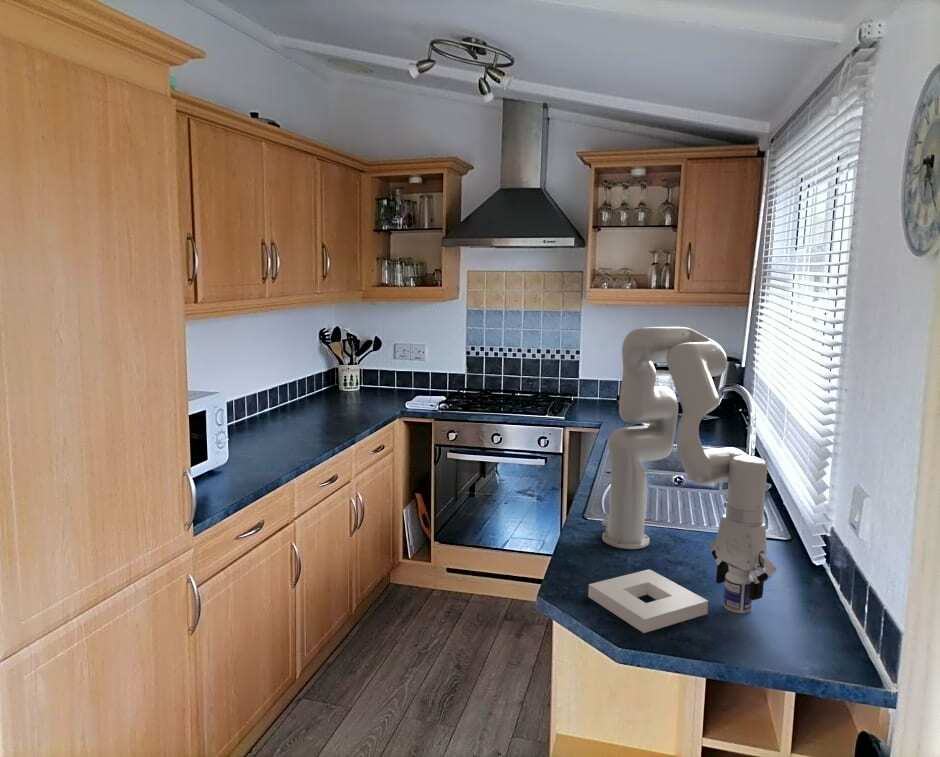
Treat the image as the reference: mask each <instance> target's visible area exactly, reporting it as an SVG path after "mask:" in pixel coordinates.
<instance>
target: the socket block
mask: <svg viewBox="0 0 940 757" xmlns="http://www.w3.org/2000/svg"><path fill="white" fill-rule="evenodd" d="M587 594H588V596H587V597H588V598H589V599H591V600H592V601H594V602H596V603H597V604H598V605H600V606H602V607H603V608H605V609H606V610H608V611H609V612H611V613H612V614H614V615H616V616H617V617H618V618H620V619H622V620H623V621H625V622H626V623H628V624H629V625H630V626H632V627H633V628H635V629H637V630H638V631H640V632H641V633H643V634H645V633H649V632H653V631H655V630H659V629H662V628H667V627H668V626H672V625H676V624H678V623H682V622H685V621H689V620H692V619H696V618H699V617H702V616H705V615H708V608H709V607H708V606H709V600H708V599H705V598H704V597H702V596H700V595H698V594H697V593H694V592H693V591H691V590H689V589H687V588H685V587H684V586H682V585H679V584H678V583H676V582H674V581H673V580H671V579H669V578H667V577H665V576H663V575H661V574H660V573H657V572H655V571H653V570H652V569H645V570H641V571H637V572H633V573H629V574H625V575H620V576H617V577H613V578H609V579H604V580H600V581H596V582H593V583H589V584H588V593H587ZM647 595H648V596H649V597H650V598H652V599H655V600H652V601H649V602H645V601H643V600H641V599H640V597H644V596H647Z"/></svg>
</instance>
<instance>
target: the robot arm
mask: <svg viewBox="0 0 940 757" xmlns="http://www.w3.org/2000/svg"><path fill="white" fill-rule="evenodd" d="M621 359H622V360H621V361H622V377H621V385H620V392H619V393H620V394H619V402H618V404H619V405H618V414H619V417H620V418H621V420H622V421H623V422H624V423H628V424H649V425H635V426H624V427H621V428H617V429H616V430H614V431H613V432H612V433H611V434H610V436H609V439H608V451H609V452H608V453H609V458H610V459H609V460H610V486H609V487H610V489H609V505H608V506H609V508H608V515H607V516H606V517H605V518H604V519H602V521H601V524H602V525H603V526H605V529H606V530H605V531H604V532H602V535H601V538H602V541H603V542H604V543H605V544H607V545H608V546H611V547H615V548H619V549H624V550H638V549H640V550H641V549H644V548H646V547H647V546H649V545H650V537H649V536H648V535H647V534H646V533H645V522H646V521H645V520H646V506H647V504H646V503H647V491H648V490H647V486H648V485H647V484H648V479H647V478H648V477H647V475H646V472H645V470H644V469H643V467H642V466H641V463H645V462H652V461H659V460H664V459H666V458H667V457H669V456H670V454H671V453H672V451H673V448H674V443H676V448H677V452H678V456H679V459H680V461H681V464H682V467H683V470H684V472H685V473H686V475H687V477H688V478H689V480H691V482H694V483H695V484H698V485H710V484H711V485H712V484H718V483H727V493H726V494H727V495H726V496H727V497H726V501H725V502H724V503H723V508H725V514H722V517H721V520H720V523H719V527H718V531H717V535H716V536H717V537H716V538H715V539H713V540H710V541H709V542H708V543H709V544H708V545H709V548H710V550H711V556H712V557H713V559H714V564H715V565H716V577H715V579H716V580H715V583H717V584H721V583H725V576H726V573H727V572H729V569H728V568H729V564H731V565H733V566H735V567H737V568H739V569H742V570H744V571H747V572H750V575H751V576H752V578H753V582H751V587H750V599H751V600H752V601H755V600H759V599H762V597H763V594H764V585H765V584H764V583H765V582H766V581H767V580H769V579H771V578H772V577H773V575H774V574H775V573H776V572H777V567H776V566H775V565H774V564H773V562H772V561H771V560H770V559H769V557H767V550H768V549H767V531H766V524H765V523H764V513H765V503H766V502H765V501H766V488H767V477H768V463H767V462H766V460H764V459H762V458H760V457H757V456H752V455H749V454H747V453H746V452H744V451H743V450H742V449H739V448H736V447H733V446H732V447H731V446H729V447H720V448H719V447H715V448H707V449H704V447H703V444H702V441H701V438H700V435H699V434H700V432H699V430H700V429H699V427H700V424H701V421H702V419H703V417H704V416H705V415H707V414H709V413H711V412H712V411H714V410H715V409H717V407H718V406H719V405H720V402H721V399H720V396H719V394H718V391H717V389H716V386H715V382H714V380H713V378H712V377H718V376H721V375H722V374H723V373H725V372H724V371H726V368H727V365H728V357H727V354H726V352H725V350H724V348H722V346H721V345H720V344H719V343H718V342H716V341H715V340H714V339H711V338H709V337H707V336H706V335H703V334H702V333H700V332H698V331H696V330H694V329H692V328H690V327H685V326H647V327H639V328H636V329H633V330H631V331H629V333H627V335H626V336H625V337H624V339H623V342H622V348H621ZM661 361H664V362H666V364H667V367H668V371H669V373H670V377H671V379H672V383H673V385H674V388H675V391H676V393H675V392H674V391H673V390H672V388H670V387H668V386H663V385H656V382H657V370H656V368H655V365H654V362H661ZM676 394H677V395H676ZM677 396H678V398H677ZM678 399H679V401H678ZM678 402H680V406H681V410H682V415H681V418H680V419H679V422H678V416H679V403H678ZM677 422H678V425H677ZM676 430H677V432H676ZM675 437H676V438H675ZM675 439H676V442H675ZM764 569H765V571H764Z"/></svg>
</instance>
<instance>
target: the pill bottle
mask: <svg viewBox="0 0 940 757" xmlns="http://www.w3.org/2000/svg"><path fill="white" fill-rule="evenodd" d="M728 569H729V572H727V573H726V576H725V582H724V590H723V592H724V593H723V606H724V608H725V609H726V610H728V611H729V612H733V613H736V614H746V613H749V612H750V611H752V601H753V600H751V599H750V587H751V582H753V578H752V576H751V574H750V572H747V571H744V570H742V569H739V568H737V567H735V566H733V565H731V564H729V568H728Z"/></svg>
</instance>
